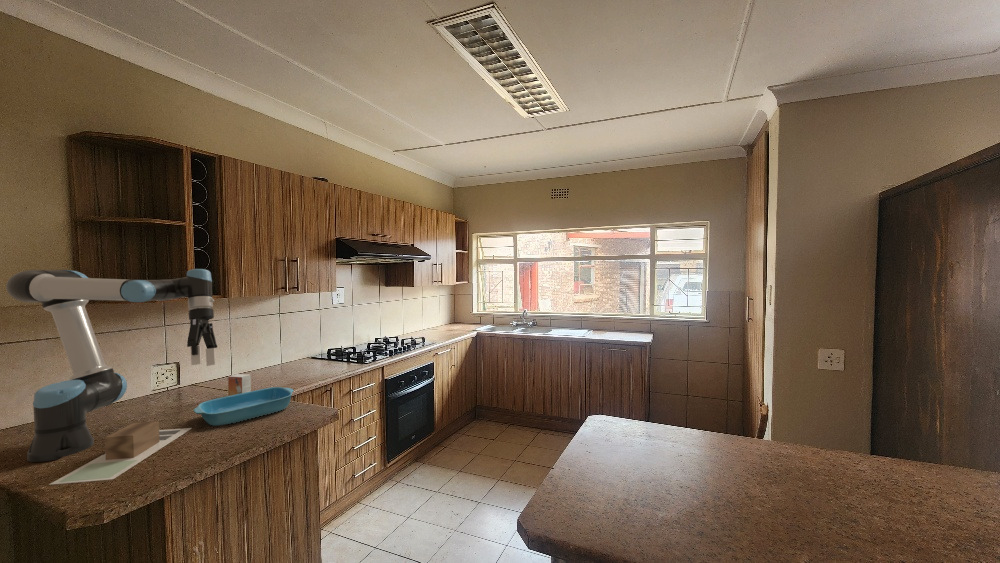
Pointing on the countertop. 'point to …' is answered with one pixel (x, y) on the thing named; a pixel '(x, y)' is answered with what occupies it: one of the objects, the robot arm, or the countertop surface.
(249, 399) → the casserole dish
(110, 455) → the walnut block
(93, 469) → the board
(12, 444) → the countertop surface
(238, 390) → the small box
